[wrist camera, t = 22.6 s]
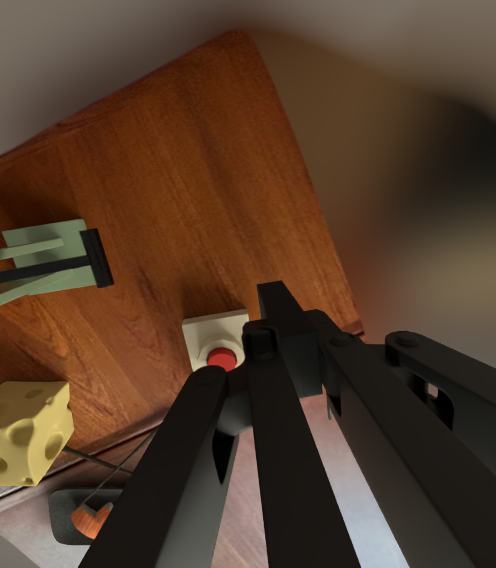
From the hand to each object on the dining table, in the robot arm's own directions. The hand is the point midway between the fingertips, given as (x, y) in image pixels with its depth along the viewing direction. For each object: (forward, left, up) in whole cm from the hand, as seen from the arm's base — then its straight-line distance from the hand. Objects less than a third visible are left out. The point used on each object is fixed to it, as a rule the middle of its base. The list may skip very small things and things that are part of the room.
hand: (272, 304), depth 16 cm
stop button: (+17, -1, -21) cm, 27 cm away
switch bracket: (+6, -26, -24) cm, 36 cm away
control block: (+17, -1, -24) cm, 29 cm away
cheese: (+32, -29, -24) cm, 49 cm away
